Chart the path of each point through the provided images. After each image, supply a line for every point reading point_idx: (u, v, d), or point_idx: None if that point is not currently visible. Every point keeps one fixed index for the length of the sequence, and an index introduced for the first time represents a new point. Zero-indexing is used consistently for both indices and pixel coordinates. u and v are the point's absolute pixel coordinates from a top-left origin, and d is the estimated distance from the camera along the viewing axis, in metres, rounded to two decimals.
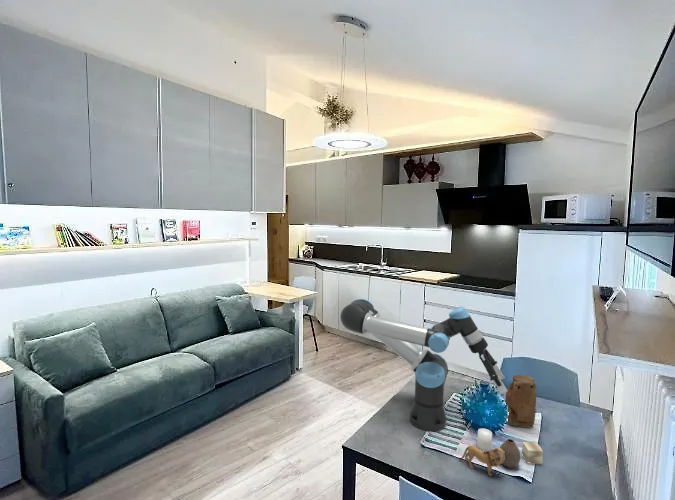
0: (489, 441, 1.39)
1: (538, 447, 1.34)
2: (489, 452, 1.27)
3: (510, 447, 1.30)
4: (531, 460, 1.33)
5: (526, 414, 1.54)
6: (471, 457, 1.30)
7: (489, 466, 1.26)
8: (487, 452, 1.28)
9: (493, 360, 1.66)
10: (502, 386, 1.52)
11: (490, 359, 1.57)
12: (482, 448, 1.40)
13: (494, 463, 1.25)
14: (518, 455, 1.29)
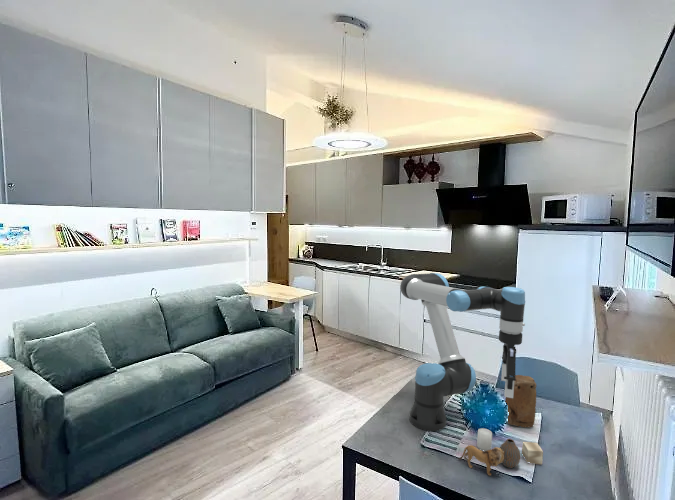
0: (489, 441, 1.39)
1: (538, 447, 1.34)
2: (488, 452, 1.27)
3: (510, 447, 1.30)
4: (531, 460, 1.33)
5: (526, 414, 1.54)
6: (470, 457, 1.30)
7: (488, 466, 1.27)
8: (486, 452, 1.28)
9: None
10: (511, 390, 1.29)
11: None
12: (482, 448, 1.40)
13: (493, 462, 1.25)
14: (518, 455, 1.29)
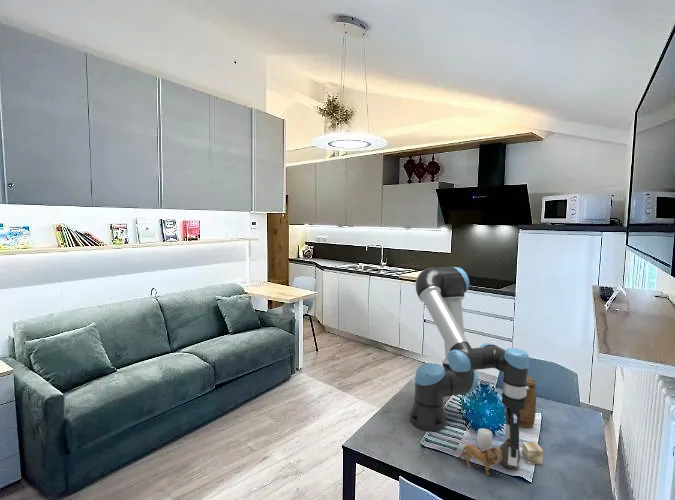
0: (489, 441, 1.39)
1: (538, 447, 1.34)
2: (487, 451, 1.28)
3: None
4: (531, 460, 1.33)
5: (526, 414, 1.54)
6: (469, 456, 1.31)
7: (487, 465, 1.27)
8: (485, 451, 1.28)
9: None
10: (514, 458, 1.25)
11: None
12: (482, 448, 1.40)
13: (492, 461, 1.26)
14: (518, 455, 1.29)
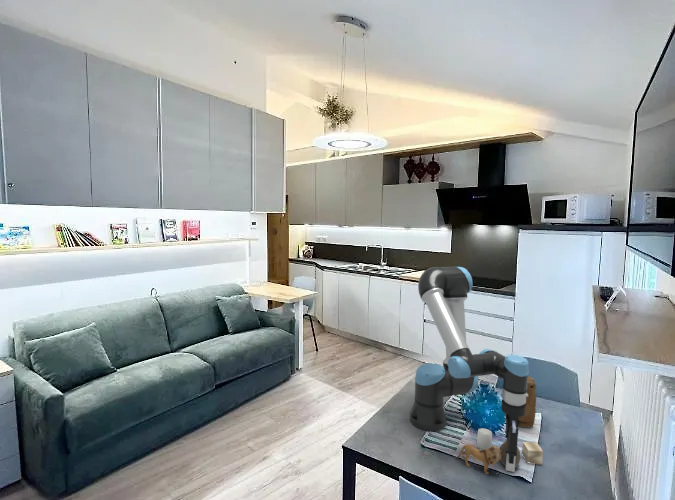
0: (489, 441, 1.39)
1: (538, 447, 1.34)
2: (485, 450, 1.28)
3: None
4: (531, 460, 1.33)
5: (526, 414, 1.54)
6: (467, 456, 1.31)
7: (485, 464, 1.27)
8: (483, 450, 1.28)
9: None
10: (512, 464, 1.28)
11: None
12: (482, 448, 1.40)
13: (491, 461, 1.26)
14: (518, 455, 1.29)
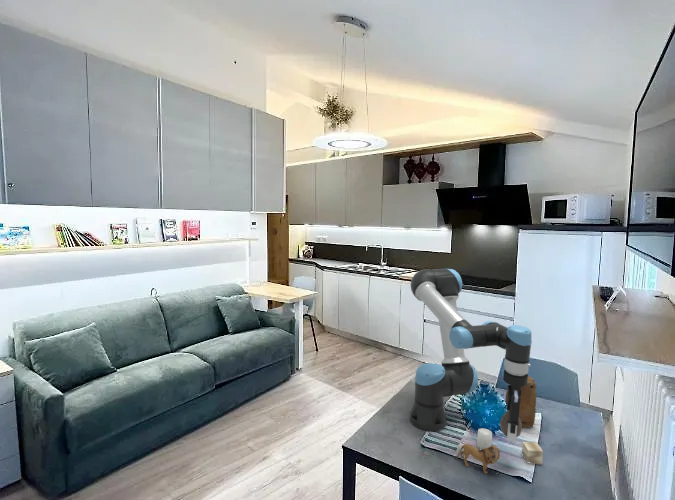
0: (489, 441, 1.39)
1: (538, 447, 1.34)
2: (484, 450, 1.28)
3: None
4: (531, 460, 1.33)
5: (526, 414, 1.54)
6: (466, 455, 1.31)
7: (484, 464, 1.27)
8: (482, 450, 1.29)
9: None
10: (514, 434, 1.27)
11: None
12: (482, 448, 1.40)
13: (490, 460, 1.26)
14: (520, 425, 1.29)
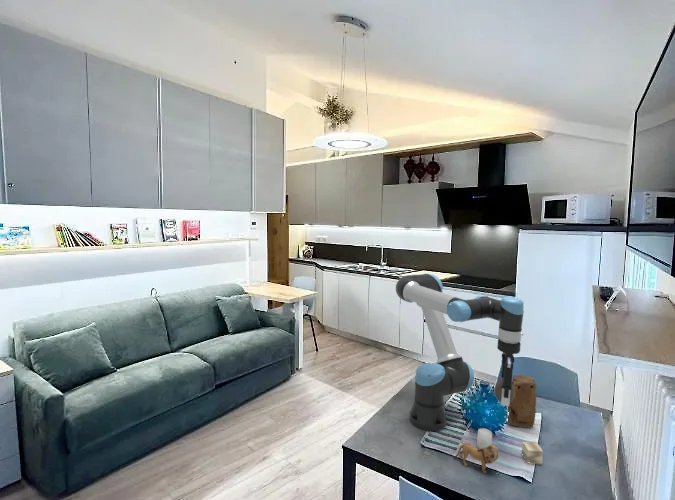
0: (489, 441, 1.39)
1: (538, 447, 1.34)
2: (483, 450, 1.28)
3: None
4: (531, 460, 1.33)
5: (526, 414, 1.54)
6: (465, 455, 1.31)
7: (483, 463, 1.28)
8: (481, 450, 1.29)
9: None
10: (507, 399, 1.35)
11: None
12: None
13: (489, 460, 1.27)
14: (513, 391, 1.36)
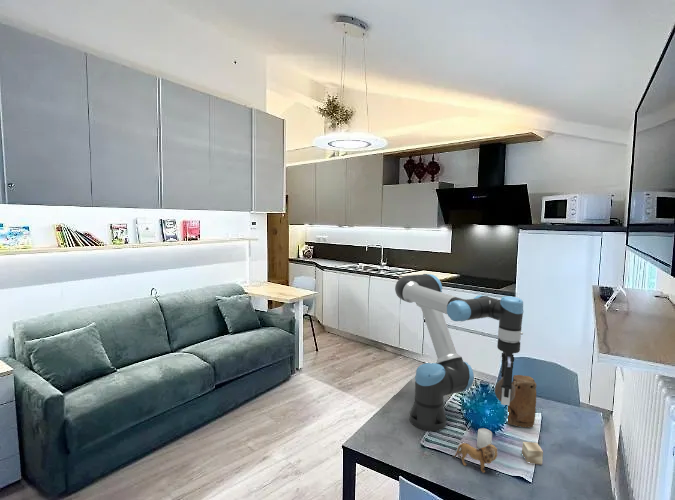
0: (489, 441, 1.39)
1: (538, 447, 1.34)
2: (482, 449, 1.29)
3: None
4: (531, 460, 1.33)
5: (526, 414, 1.54)
6: (464, 454, 1.31)
7: (482, 463, 1.28)
8: (480, 449, 1.29)
9: None
10: (507, 398, 1.35)
11: None
12: None
13: (487, 459, 1.27)
14: (513, 390, 1.37)
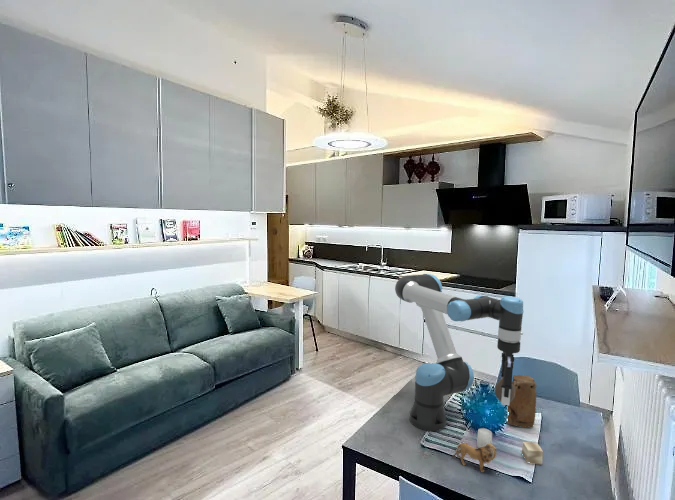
0: (489, 441, 1.39)
1: (538, 447, 1.34)
2: (481, 449, 1.29)
3: None
4: (531, 460, 1.33)
5: (526, 414, 1.54)
6: (463, 454, 1.32)
7: (481, 462, 1.28)
8: (479, 449, 1.29)
9: None
10: (507, 398, 1.35)
11: None
12: None
13: (486, 459, 1.27)
14: (513, 390, 1.37)
